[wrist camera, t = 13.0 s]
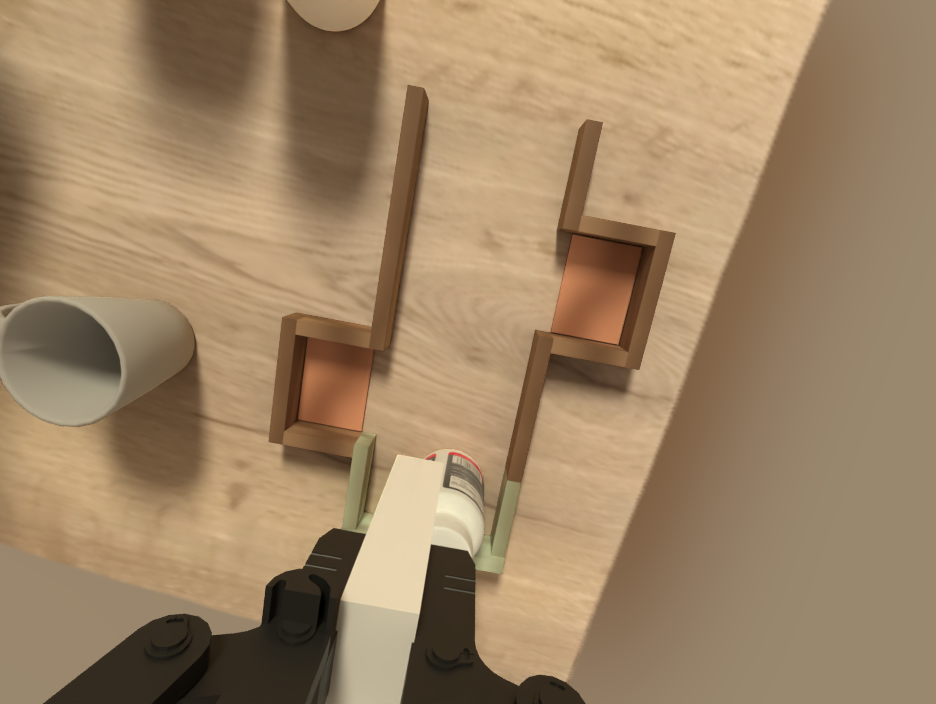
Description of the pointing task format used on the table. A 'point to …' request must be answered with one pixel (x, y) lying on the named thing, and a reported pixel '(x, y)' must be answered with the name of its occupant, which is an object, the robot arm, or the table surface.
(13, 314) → the cup
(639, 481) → the table surface
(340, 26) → the can
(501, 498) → the trap lane
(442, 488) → the pill bottle
